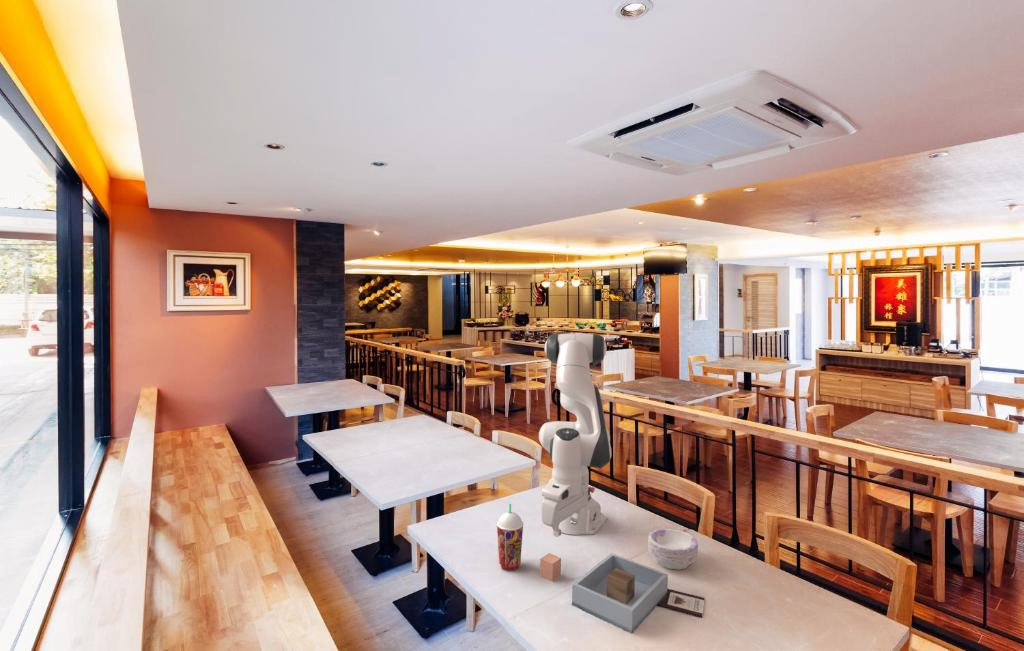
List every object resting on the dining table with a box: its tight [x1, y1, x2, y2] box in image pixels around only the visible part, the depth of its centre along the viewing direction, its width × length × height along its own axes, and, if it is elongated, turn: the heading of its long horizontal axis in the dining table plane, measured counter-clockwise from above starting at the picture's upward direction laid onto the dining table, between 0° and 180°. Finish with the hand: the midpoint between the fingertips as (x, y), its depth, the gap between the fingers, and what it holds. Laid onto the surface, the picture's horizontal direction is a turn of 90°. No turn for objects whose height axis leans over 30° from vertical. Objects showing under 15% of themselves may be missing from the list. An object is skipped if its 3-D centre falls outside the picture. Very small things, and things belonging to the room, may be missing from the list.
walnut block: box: [607, 568, 635, 604], centre depth 141 cm, size 5×6×6 cm
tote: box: [571, 552, 669, 634], centre depth 141 cm, size 22×18×6 cm
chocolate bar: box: [657, 588, 705, 619], centre depth 141 cm, size 9×1×18 cm
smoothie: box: [496, 503, 524, 571], centre depth 158 cm, size 8×8×20 cm
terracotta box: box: [539, 552, 562, 582], centre depth 153 cm, size 4×4×6 cm
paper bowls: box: [647, 528, 699, 571], centre depth 161 cm, size 15×15×8 cm
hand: (565, 529), depth 150 cm, fingers open, 8 cm apart
